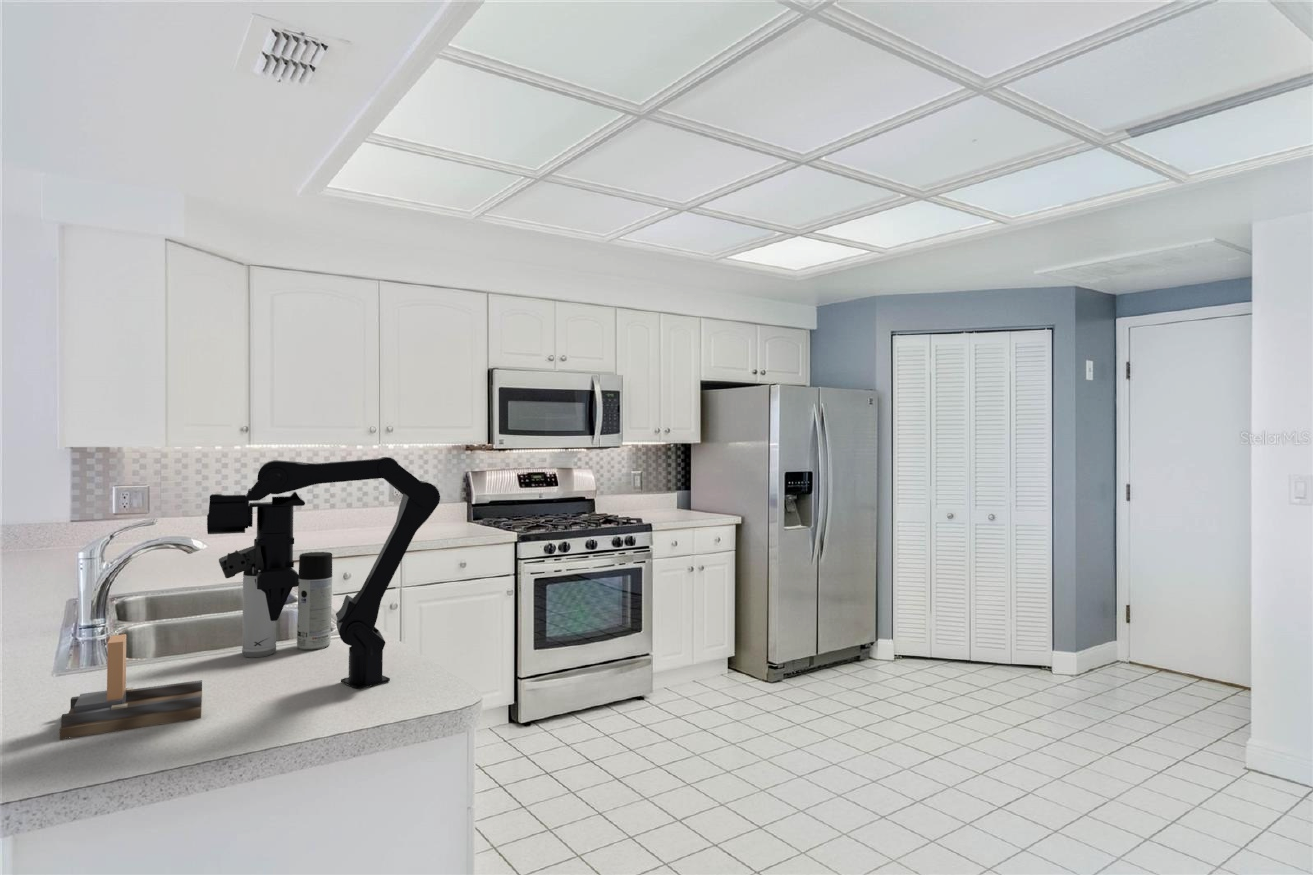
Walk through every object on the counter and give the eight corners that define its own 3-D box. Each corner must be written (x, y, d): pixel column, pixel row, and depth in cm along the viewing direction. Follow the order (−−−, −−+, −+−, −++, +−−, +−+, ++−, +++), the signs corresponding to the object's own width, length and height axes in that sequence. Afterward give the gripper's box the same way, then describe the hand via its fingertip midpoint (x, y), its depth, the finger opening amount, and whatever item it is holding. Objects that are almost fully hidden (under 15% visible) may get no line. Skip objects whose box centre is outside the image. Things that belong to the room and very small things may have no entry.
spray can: (303, 642, 165) (305, 551, 165) (335, 641, 166) (336, 551, 166) (291, 650, 159) (293, 556, 159) (325, 650, 159) (326, 556, 159)
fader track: (202, 695, 131) (202, 676, 131) (200, 717, 121) (201, 697, 121) (72, 713, 122) (73, 693, 122) (59, 739, 112) (59, 717, 112)
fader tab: (126, 700, 124) (126, 633, 124) (121, 712, 118) (122, 642, 118) (80, 706, 121) (81, 637, 121) (73, 719, 115) (74, 647, 115)
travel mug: (263, 659, 153) (264, 560, 153) (234, 656, 154) (236, 559, 154) (284, 650, 159) (285, 555, 159) (256, 648, 160) (258, 554, 160)
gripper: (221, 528, 136) (220, 614, 136) (222, 541, 120) (221, 638, 120) (290, 525, 142) (288, 607, 142) (299, 537, 126) (298, 630, 126)
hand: (273, 620), depth 132 cm, fingers closed
